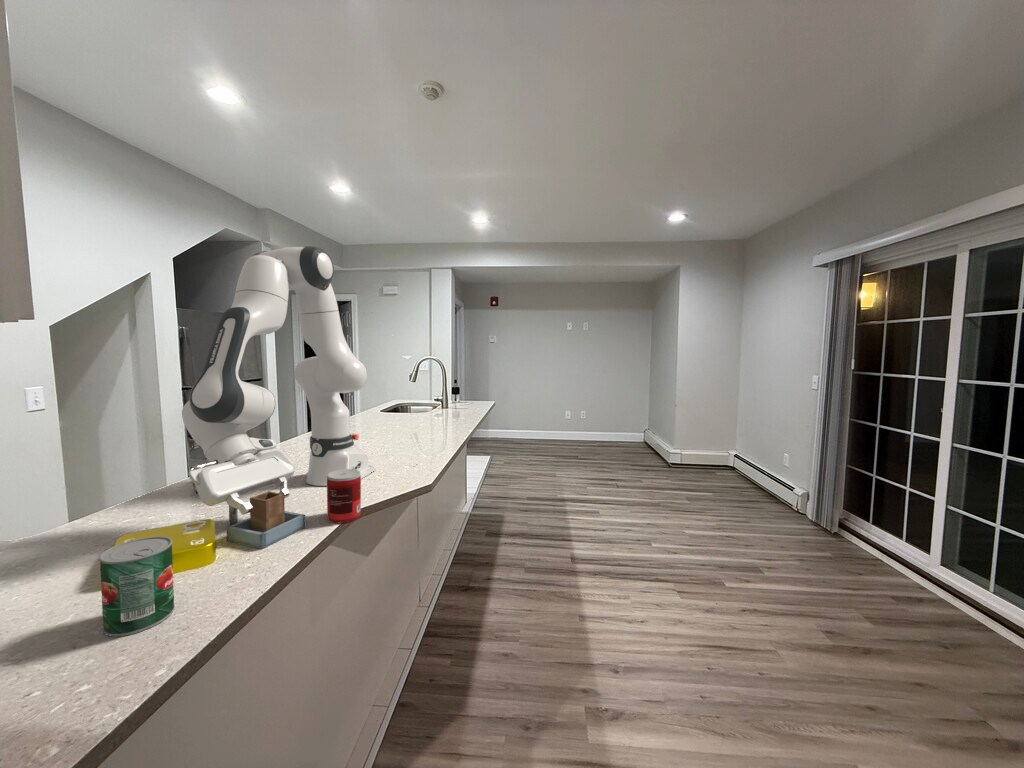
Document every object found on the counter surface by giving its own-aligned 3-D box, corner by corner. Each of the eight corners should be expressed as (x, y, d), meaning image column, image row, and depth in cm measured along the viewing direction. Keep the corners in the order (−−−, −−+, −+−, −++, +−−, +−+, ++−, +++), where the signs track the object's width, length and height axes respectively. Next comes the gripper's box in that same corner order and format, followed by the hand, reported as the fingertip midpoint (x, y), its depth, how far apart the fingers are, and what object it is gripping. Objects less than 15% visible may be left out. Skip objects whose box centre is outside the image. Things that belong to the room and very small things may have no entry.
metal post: (234, 523, 93) (233, 496, 92) (239, 524, 92) (238, 497, 92) (227, 526, 91) (226, 498, 91) (232, 527, 91) (232, 499, 90)
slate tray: (272, 520, 95) (272, 508, 94) (305, 527, 92) (305, 514, 91) (226, 540, 84) (226, 527, 84) (262, 549, 81) (262, 535, 81)
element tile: (119, 555, 78) (118, 532, 78) (214, 536, 87) (214, 515, 87) (104, 592, 66) (103, 565, 66) (216, 565, 75) (215, 541, 75)
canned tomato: (91, 626, 58) (87, 553, 57) (157, 597, 65) (155, 532, 64) (119, 644, 54) (116, 567, 54) (186, 610, 62) (183, 542, 61)
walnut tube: (269, 525, 91) (268, 491, 90) (284, 528, 89) (284, 494, 89) (250, 533, 86) (249, 498, 86) (266, 537, 85) (266, 501, 84)
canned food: (352, 508, 103) (352, 467, 103) (366, 517, 98) (366, 474, 97) (322, 516, 98) (321, 472, 97) (334, 526, 92) (334, 480, 92)
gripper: (191, 458, 79) (229, 513, 77) (280, 438, 98) (311, 481, 96) (177, 477, 81) (213, 531, 78) (266, 454, 100) (297, 497, 98)
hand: (268, 504), depth 87 cm, fingers open, 8 cm apart
